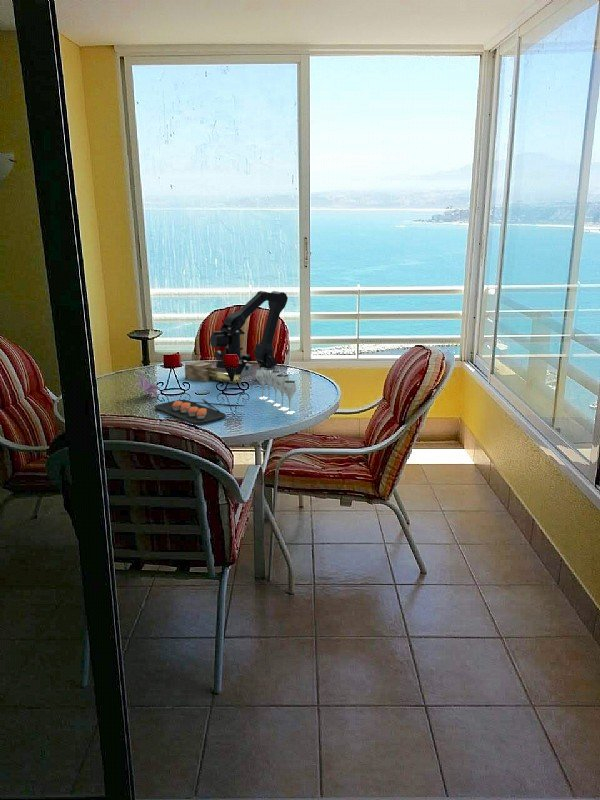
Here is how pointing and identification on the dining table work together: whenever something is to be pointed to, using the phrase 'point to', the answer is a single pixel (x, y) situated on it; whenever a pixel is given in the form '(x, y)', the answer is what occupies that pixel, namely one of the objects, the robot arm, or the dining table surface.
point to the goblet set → (276, 386)
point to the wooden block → (198, 370)
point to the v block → (246, 371)
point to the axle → (223, 377)
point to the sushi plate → (192, 410)
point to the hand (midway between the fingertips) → (234, 380)
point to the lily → (147, 385)
